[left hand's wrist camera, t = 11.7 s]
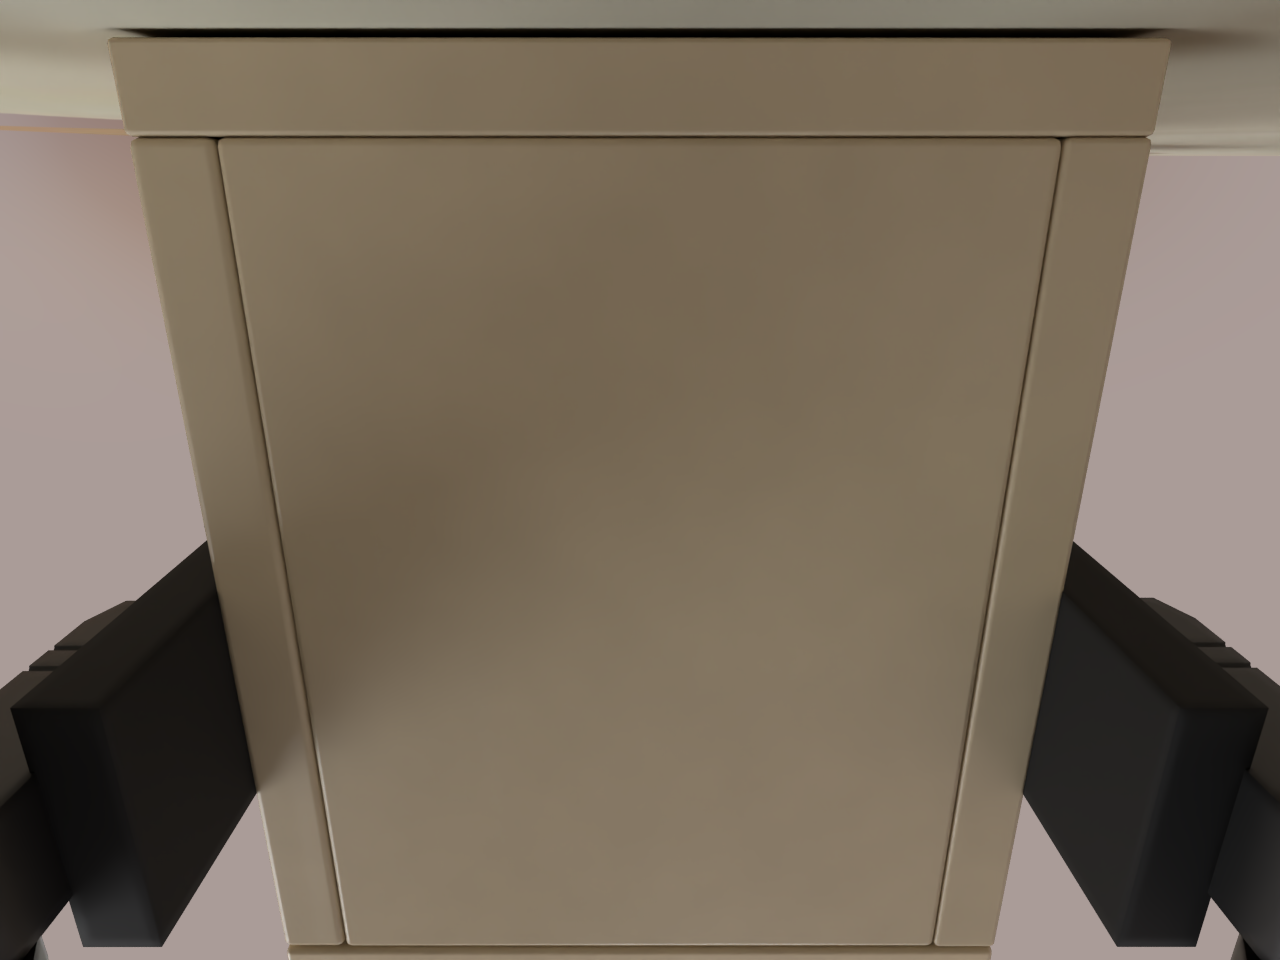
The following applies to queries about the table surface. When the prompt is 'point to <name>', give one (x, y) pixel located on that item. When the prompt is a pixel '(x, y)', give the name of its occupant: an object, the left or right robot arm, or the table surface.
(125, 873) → the left robot arm
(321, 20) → the table surface
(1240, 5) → the table surface
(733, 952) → the lid
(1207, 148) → the table surface
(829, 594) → the chest
